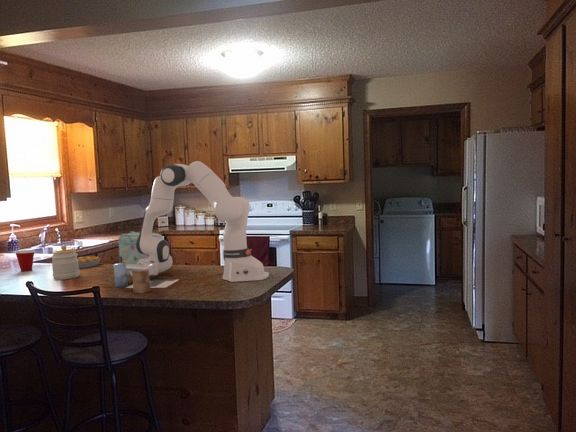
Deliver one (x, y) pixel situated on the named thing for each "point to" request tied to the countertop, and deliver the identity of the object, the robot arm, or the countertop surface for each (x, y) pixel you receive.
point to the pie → (88, 261)
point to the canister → (120, 275)
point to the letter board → (159, 283)
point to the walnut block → (141, 281)
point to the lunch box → (131, 248)
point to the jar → (65, 263)
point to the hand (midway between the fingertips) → (122, 273)
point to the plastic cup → (25, 259)
